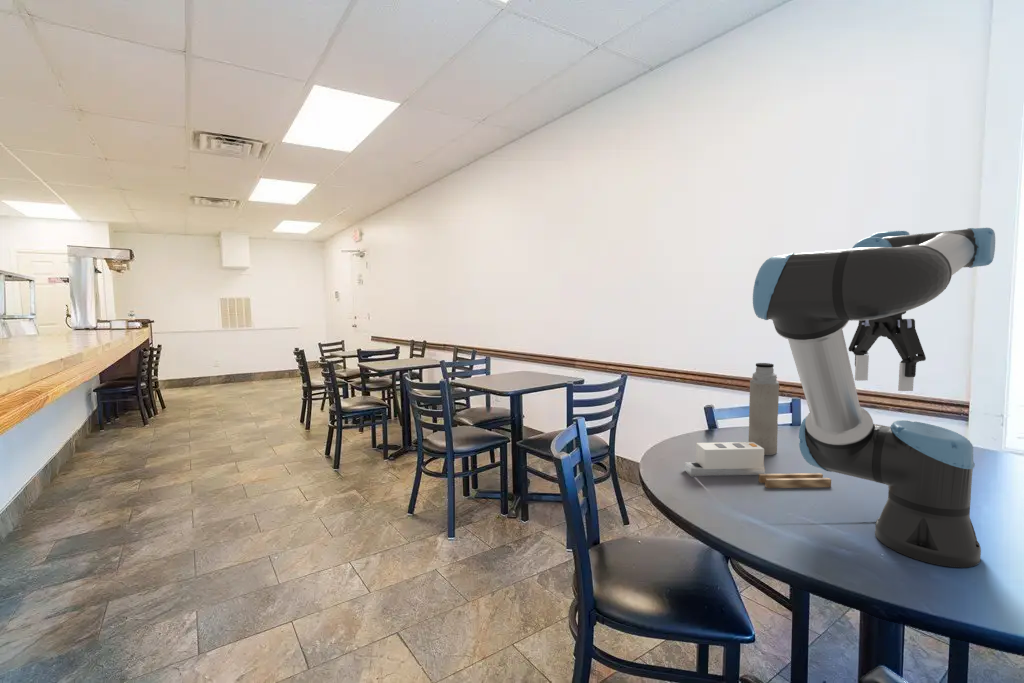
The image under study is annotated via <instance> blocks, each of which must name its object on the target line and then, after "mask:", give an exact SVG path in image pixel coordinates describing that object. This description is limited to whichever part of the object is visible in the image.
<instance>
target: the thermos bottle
mask: <svg viewBox="0 0 1024 683" xmlns="http://www.w3.org/2000/svg"><path fill="white" fill-rule="evenodd" d="M751 377H752V379H751V380H749V405H748V406H749V407H748V408H749V411H748V442H754V443H756V444H757V445H759V446H760V447H762V448H764V456H765V455H767V456H772V455H773V456H774V455H776V454H777V453H778V433H779V432H778V429H779V427H778V425H779V422H778V418H779V401H780V400H779V396H780V394H779V393H780V383H779V382H780V381H778V380H777V378H778V376H777V374H776V373H775V372H774V364H773V363H770V362H757V363H755V372H753V373H752V376H751Z"/></svg>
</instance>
